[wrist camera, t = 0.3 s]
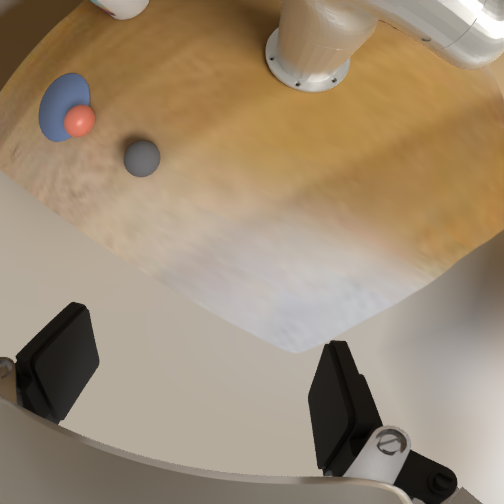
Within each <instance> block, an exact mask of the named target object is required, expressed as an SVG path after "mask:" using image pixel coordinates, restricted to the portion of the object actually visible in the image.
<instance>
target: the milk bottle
mask: <svg viewBox="0 0 504 504" xmlns="http://www.w3.org/2000/svg"><path fill="white" fill-rule="evenodd" d="M90 1H91V2H93V3H94V4H95V5H97V6H98V7H100V8H101V9H102V10H104V11H105V12H106V13H108V14H109V15H111V16H112V17H114V18H115V19H118V20H126V19H130V18H133V17H135V16H137V15H138V14H140V13H141V12H142V11H143V10H144V9H145V8H146V7H147V5H148V3H149V1H150V0H90Z"/></svg>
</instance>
